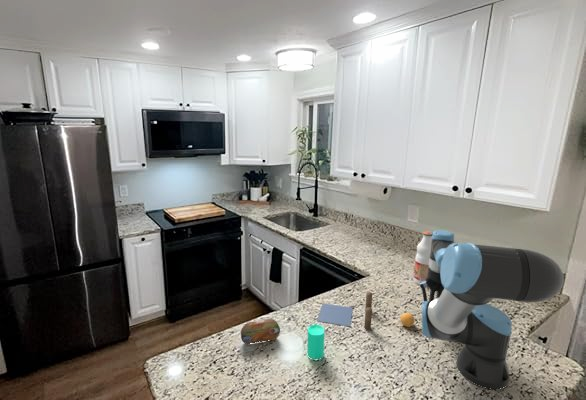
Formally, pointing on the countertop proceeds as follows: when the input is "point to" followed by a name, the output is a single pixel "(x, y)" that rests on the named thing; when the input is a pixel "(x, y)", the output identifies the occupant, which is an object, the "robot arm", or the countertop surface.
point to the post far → (368, 300)
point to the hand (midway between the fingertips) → (432, 321)
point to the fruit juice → (422, 258)
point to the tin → (260, 331)
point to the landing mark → (335, 314)
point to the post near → (368, 318)
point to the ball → (407, 319)
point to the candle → (315, 341)
